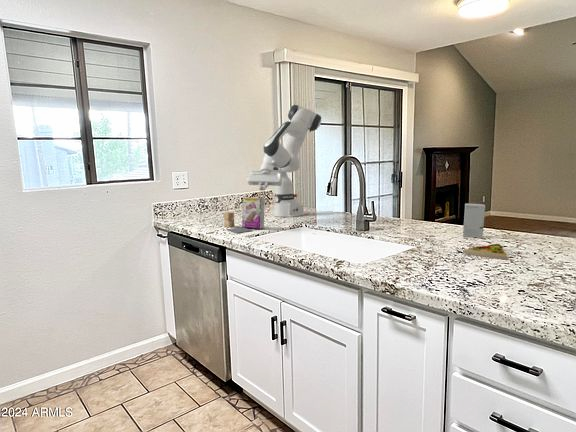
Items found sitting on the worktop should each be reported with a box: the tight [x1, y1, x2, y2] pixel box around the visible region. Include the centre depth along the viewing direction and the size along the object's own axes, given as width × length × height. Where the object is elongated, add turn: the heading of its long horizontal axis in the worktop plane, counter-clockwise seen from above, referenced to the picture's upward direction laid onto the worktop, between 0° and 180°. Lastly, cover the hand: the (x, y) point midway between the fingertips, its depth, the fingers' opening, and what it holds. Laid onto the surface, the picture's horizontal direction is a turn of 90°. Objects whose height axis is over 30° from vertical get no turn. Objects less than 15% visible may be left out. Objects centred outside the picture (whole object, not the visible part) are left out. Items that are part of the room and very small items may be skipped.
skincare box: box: [462, 203, 486, 239], centre depth 174 cm, size 8×6×15 cm
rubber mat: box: [225, 226, 254, 234], centre depth 203 cm, size 10×12×1 cm
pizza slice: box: [462, 243, 509, 260], centre depth 148 cm, size 16×21×3 cm
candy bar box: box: [241, 196, 266, 230], centre depth 208 cm, size 11×5×16 cm, turn 65°
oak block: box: [223, 211, 235, 229], centre depth 215 cm, size 4×4×8 cm
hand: (261, 189), depth 217 cm, fingers closed
